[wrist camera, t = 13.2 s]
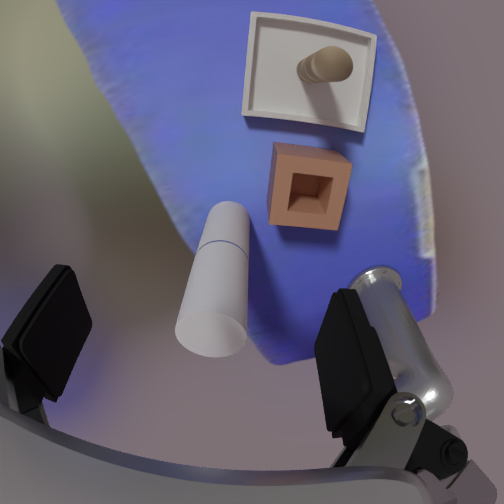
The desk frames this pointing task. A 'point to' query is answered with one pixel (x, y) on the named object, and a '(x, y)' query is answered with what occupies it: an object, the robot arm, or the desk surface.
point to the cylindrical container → (218, 286)
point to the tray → (292, 86)
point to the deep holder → (307, 186)
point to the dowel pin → (326, 66)
